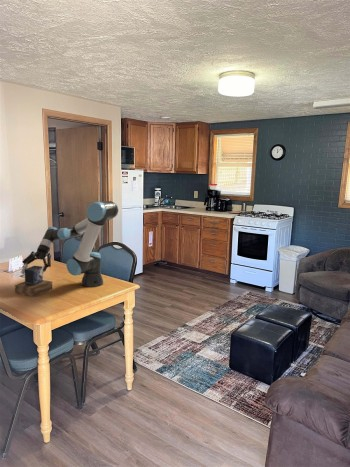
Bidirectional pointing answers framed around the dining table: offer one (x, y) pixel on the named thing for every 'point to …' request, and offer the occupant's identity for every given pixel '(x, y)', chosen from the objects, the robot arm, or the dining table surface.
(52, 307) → the dining table surface
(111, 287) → the dining table surface
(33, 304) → the dining table surface
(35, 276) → the small box
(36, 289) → the walnut block
